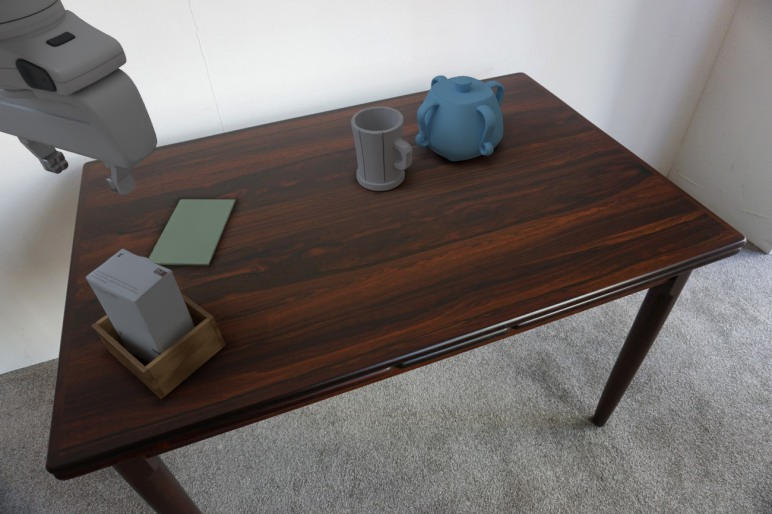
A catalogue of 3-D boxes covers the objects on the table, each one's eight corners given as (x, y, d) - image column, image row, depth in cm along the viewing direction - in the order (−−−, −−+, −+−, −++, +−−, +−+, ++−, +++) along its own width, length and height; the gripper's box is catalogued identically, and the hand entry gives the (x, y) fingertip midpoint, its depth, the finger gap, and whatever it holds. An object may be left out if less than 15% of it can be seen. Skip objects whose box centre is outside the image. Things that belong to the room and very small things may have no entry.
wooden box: (161, 399, 64) (143, 372, 60) (110, 353, 70) (90, 325, 66) (226, 345, 70) (213, 316, 66) (174, 305, 75) (160, 277, 71)
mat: (209, 265, 81) (208, 263, 81) (146, 264, 82) (145, 263, 81) (235, 201, 92) (235, 199, 92) (181, 200, 93) (180, 199, 93)
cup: (415, 164, 98) (415, 106, 90) (412, 194, 92) (411, 134, 83) (360, 163, 99) (354, 105, 91) (353, 192, 93) (347, 133, 84)
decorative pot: (510, 132, 105) (519, 66, 95) (488, 175, 95) (496, 107, 85) (434, 118, 110) (435, 54, 101) (405, 158, 100) (404, 91, 90)
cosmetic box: (128, 354, 69) (78, 278, 59) (161, 322, 73) (119, 245, 63) (175, 378, 66) (131, 302, 56) (207, 343, 70) (171, 266, 60)
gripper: (-96, 41, 45) (-5, 174, 54) (73, 79, 38) (143, 223, 48) (-28, 15, 49) (46, 143, 58) (136, 45, 42) (189, 184, 52)
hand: (91, 179), depth 53 cm, fingers open, 8 cm apart
